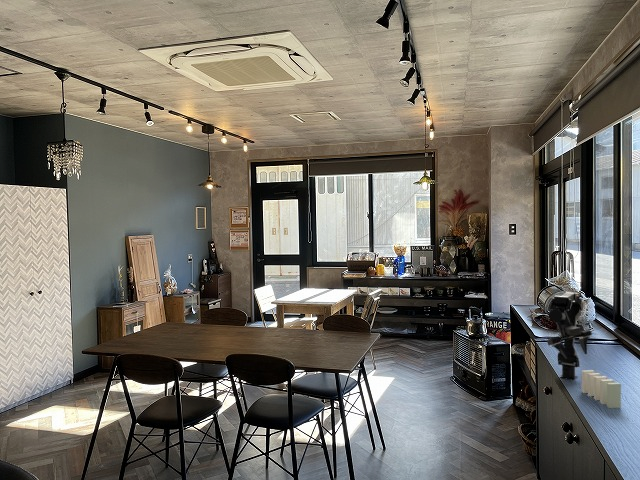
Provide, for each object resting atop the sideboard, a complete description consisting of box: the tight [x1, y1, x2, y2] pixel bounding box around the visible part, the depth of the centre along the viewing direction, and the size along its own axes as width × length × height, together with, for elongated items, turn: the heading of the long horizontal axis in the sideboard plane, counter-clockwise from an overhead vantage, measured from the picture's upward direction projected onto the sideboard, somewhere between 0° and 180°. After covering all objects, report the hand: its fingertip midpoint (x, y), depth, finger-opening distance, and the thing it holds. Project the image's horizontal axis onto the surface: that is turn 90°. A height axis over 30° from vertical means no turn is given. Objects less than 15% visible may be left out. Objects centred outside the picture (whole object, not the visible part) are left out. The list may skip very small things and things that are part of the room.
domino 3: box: [593, 375, 608, 401], centre depth 215 cm, size 2×5×10 cm, turn 95°
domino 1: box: [581, 369, 595, 393], centre depth 223 cm, size 2×5×10 cm, turn 95°
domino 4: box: [599, 378, 615, 405], centre depth 210 cm, size 2×5×10 cm, turn 95°
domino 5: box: [606, 382, 622, 409], centre depth 206 cm, size 2×5×10 cm, turn 95°
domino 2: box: [587, 372, 602, 398], centre depth 219 cm, size 2×5×10 cm, turn 95°
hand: (576, 356), depth 225 cm, fingers open, 9 cm apart
